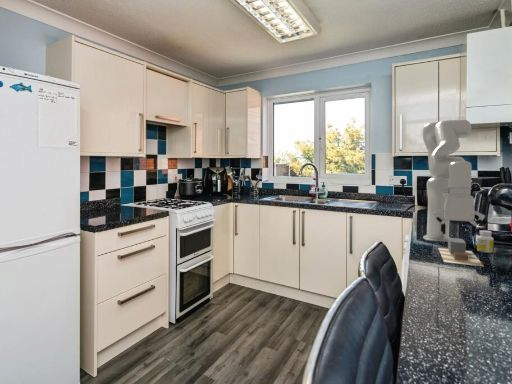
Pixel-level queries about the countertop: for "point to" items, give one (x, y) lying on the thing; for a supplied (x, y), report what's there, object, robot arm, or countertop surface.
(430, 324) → the countertop surface
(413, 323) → the countertop surface
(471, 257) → the birch board
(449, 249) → the block
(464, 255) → the walnut offcut
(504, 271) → the countertop surface
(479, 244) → the supplement bottle
